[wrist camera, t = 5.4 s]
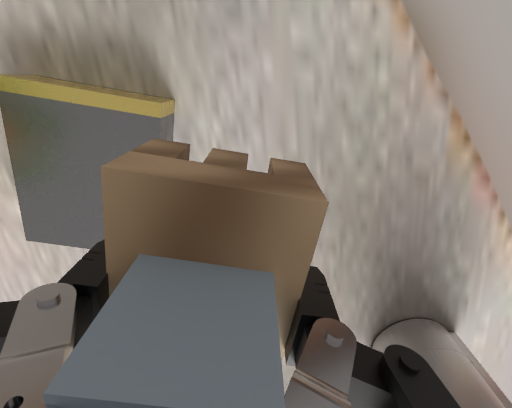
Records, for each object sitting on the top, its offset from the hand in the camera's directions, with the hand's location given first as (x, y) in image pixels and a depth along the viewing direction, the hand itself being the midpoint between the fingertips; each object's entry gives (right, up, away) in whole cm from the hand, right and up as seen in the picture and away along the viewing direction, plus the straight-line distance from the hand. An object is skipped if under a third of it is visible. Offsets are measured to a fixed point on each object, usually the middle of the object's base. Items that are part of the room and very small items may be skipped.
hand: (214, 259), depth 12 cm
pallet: (0, 0, +1) cm, 1 cm away
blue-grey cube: (0, -1, -3) cm, 3 cm away
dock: (-11, +6, +13) cm, 18 cm away
